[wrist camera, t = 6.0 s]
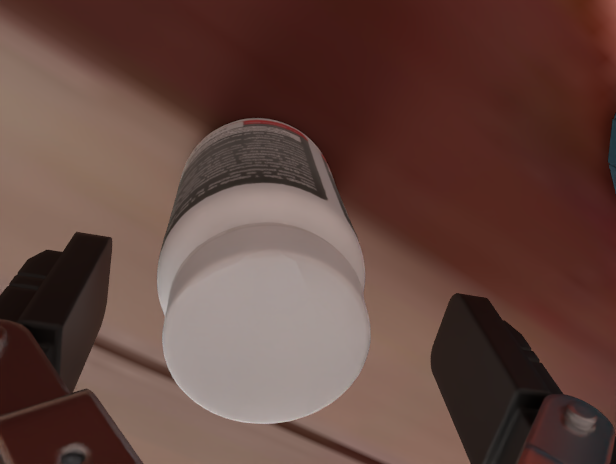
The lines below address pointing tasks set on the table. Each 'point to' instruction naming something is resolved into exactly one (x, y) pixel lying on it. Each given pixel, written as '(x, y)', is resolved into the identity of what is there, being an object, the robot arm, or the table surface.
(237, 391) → the pill bottle
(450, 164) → the table surface
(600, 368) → the table surface
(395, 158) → the table surface
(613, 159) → the bowl
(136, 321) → the table surface
